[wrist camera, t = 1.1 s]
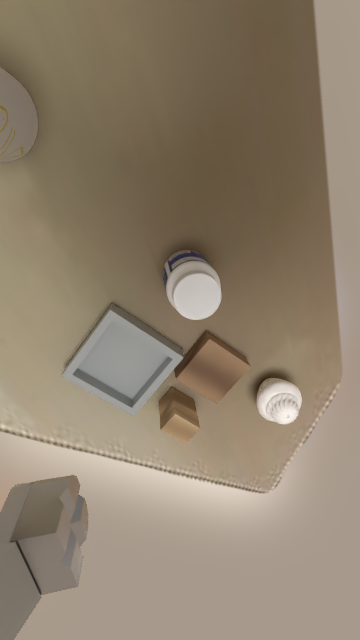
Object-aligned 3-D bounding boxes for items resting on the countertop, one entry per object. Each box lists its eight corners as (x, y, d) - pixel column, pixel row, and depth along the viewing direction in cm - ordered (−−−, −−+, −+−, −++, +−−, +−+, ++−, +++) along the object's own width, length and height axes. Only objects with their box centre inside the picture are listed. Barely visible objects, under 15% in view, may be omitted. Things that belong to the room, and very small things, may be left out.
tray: (112, 302, 41) (110, 309, 39) (181, 348, 44) (183, 357, 42) (65, 366, 44) (61, 376, 42) (134, 405, 47) (133, 416, 45)
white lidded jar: (242, 398, 48) (257, 431, 42) (260, 363, 46) (278, 392, 40) (279, 408, 50) (299, 442, 43) (298, 374, 48) (321, 404, 41)
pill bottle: (196, 301, 42) (210, 333, 33) (155, 284, 41) (157, 313, 32) (217, 260, 40) (237, 282, 31) (174, 240, 39) (182, 258, 30)
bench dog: (171, 386, 47) (175, 413, 41) (193, 399, 48) (200, 428, 42) (159, 401, 47) (160, 430, 42) (181, 414, 48) (185, 443, 43)
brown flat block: (205, 329, 44) (209, 338, 41) (244, 355, 46) (250, 366, 43) (174, 367, 46) (175, 379, 43) (212, 391, 48) (216, 403, 45)
